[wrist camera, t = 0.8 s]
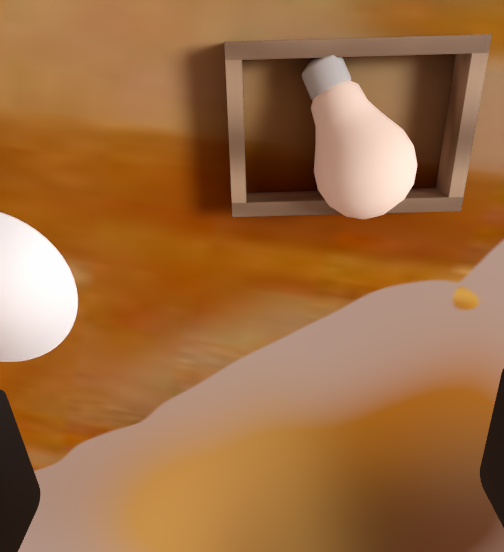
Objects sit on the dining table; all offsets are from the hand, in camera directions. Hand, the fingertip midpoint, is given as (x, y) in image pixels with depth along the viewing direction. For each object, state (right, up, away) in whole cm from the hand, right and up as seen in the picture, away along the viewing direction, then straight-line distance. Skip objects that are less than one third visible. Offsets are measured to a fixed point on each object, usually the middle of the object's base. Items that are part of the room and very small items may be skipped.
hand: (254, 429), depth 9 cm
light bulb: (+6, +13, +24) cm, 28 cm away
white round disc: (-21, +2, +29) cm, 36 cm away
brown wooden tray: (+6, +13, +24) cm, 28 cm away
